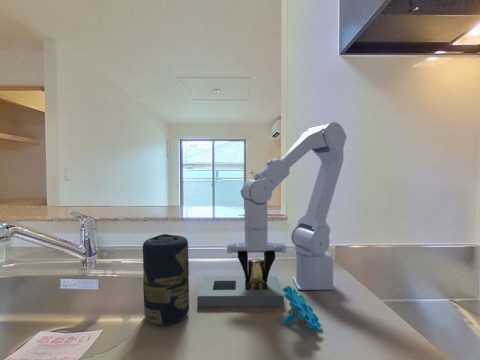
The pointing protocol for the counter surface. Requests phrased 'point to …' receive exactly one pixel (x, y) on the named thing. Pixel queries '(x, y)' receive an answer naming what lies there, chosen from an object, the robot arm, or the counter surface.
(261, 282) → the bushing
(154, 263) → the canister
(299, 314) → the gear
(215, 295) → the jig
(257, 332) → the counter surface
